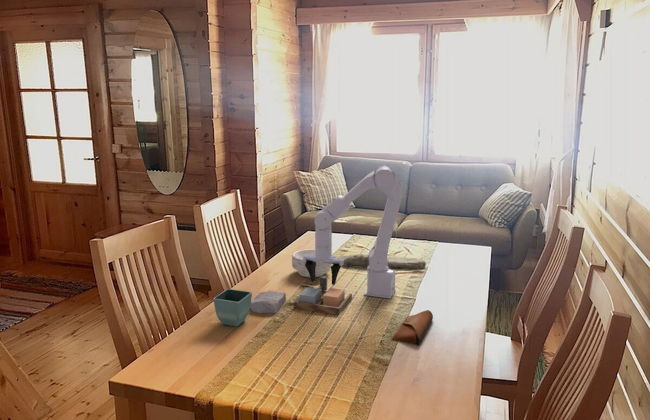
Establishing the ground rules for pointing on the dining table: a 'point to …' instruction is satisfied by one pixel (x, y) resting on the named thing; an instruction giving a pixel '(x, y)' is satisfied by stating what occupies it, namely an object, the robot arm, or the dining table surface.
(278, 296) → the stone block
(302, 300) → the grey mallet
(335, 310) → the lane rack
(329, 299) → the terracotta block
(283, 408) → the dining table surface
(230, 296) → the flower pot
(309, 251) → the paper bowls
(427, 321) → the sunglasses case
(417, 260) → the long grey stone
